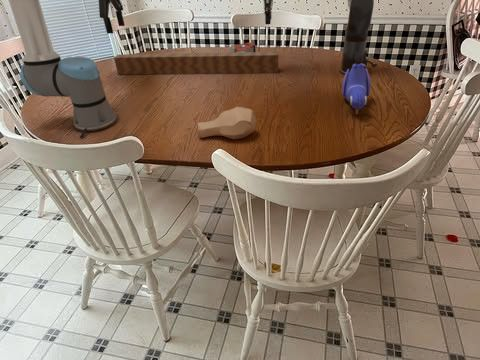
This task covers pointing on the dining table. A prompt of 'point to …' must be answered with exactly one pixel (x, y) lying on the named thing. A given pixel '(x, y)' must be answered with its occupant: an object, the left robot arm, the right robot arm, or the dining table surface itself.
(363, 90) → the toy
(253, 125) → the squash
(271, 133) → the dining table surface
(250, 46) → the tape dispenser
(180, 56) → the beam
